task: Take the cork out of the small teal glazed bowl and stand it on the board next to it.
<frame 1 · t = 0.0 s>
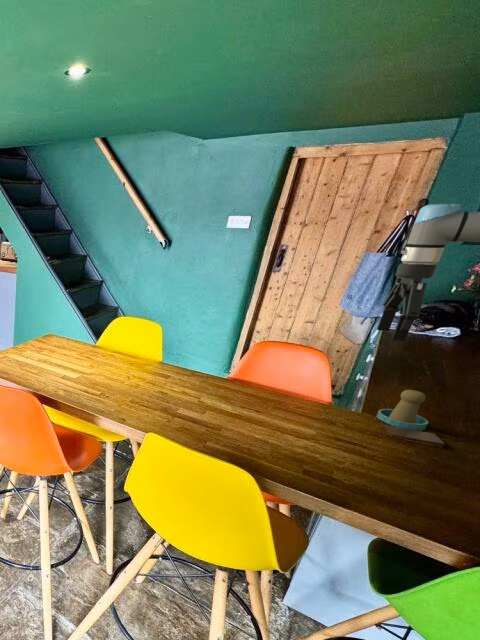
hand: (389, 335, 123), 28 cm above the countertop, tool pointing down, fingers open, 13 cm apart
board: (411, 438, 119), on the countertop
cork: (399, 423, 127), resting on bowl
bowl: (399, 424, 127), on the countertop
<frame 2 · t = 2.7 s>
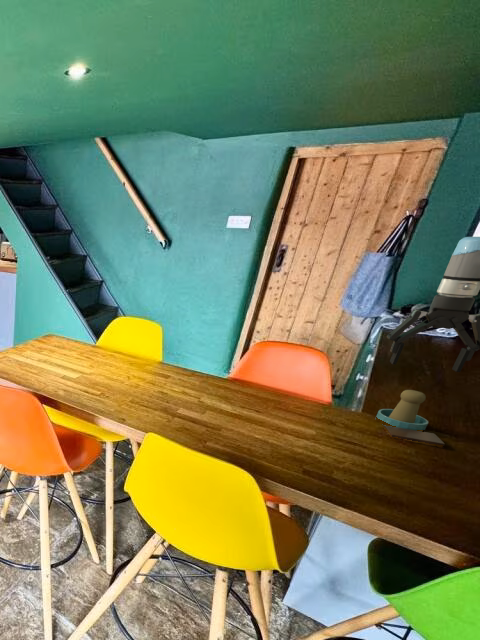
hand: (423, 366, 120), 19 cm above the countertop, tool pointing down, fingers open, 13 cm apart
nothing on the countertop moved.
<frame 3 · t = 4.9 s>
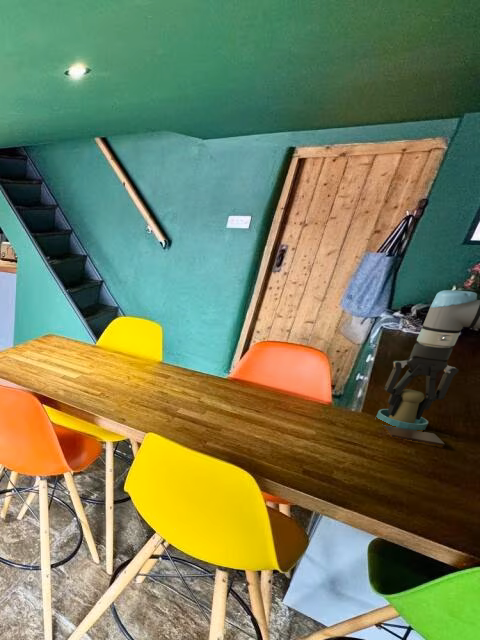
hand: (403, 415, 126), 3 cm above the countertop, tool pointing down, fingers closed on cork, 5 cm apart
cork: (399, 423, 127), point 1 cm above the countertop, touching bowl, gripper
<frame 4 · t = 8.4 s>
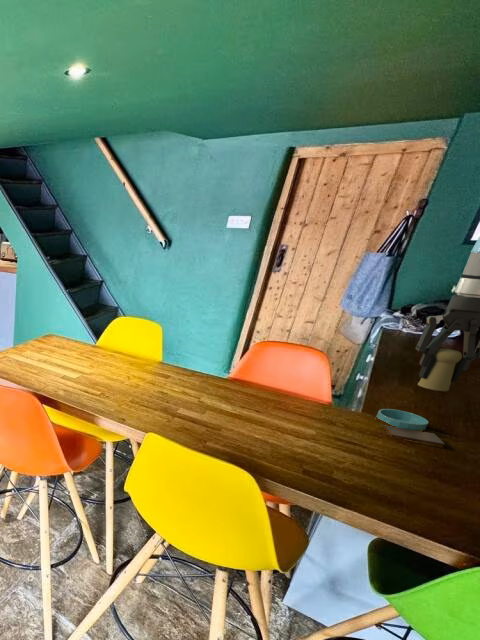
hand: (436, 378, 113), 19 cm above the countertop, tool pointing down, fingers closed on cork, 5 cm apart
cork: (432, 387, 114), point 16 cm above the countertop, touching gripper
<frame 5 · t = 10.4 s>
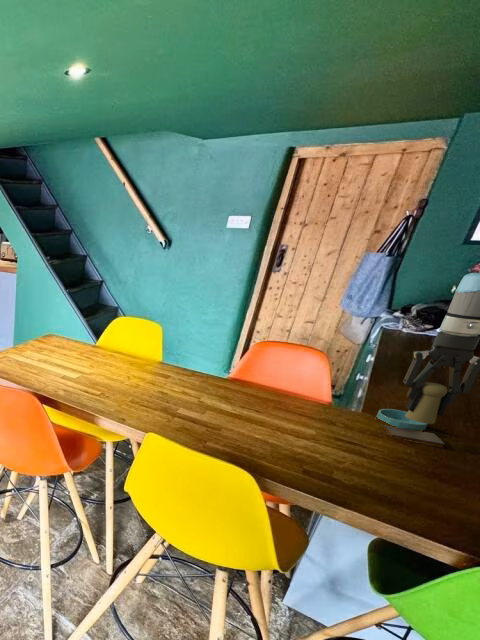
hand: (423, 411, 116), 9 cm above the countertop, tool pointing down, fingers closed on cork, 5 cm apart
cork: (419, 419, 117), point 6 cm above the countertop, touching gripper
when the fingers open (4 cm above the countertop, at t = 11.9 s): cork stays where it is, resting on board.
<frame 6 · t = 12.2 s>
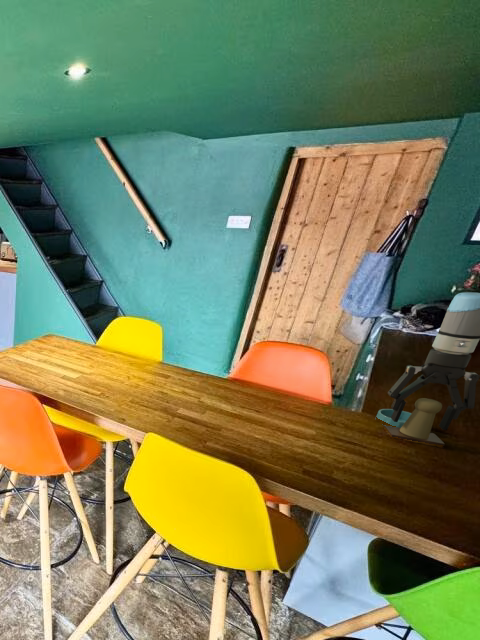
hand: (417, 424, 117), 5 cm above the countertop, tool pointing down, fingers open, 10 cm apart
cork: (413, 434, 119), point 1 cm above the countertop, touching board
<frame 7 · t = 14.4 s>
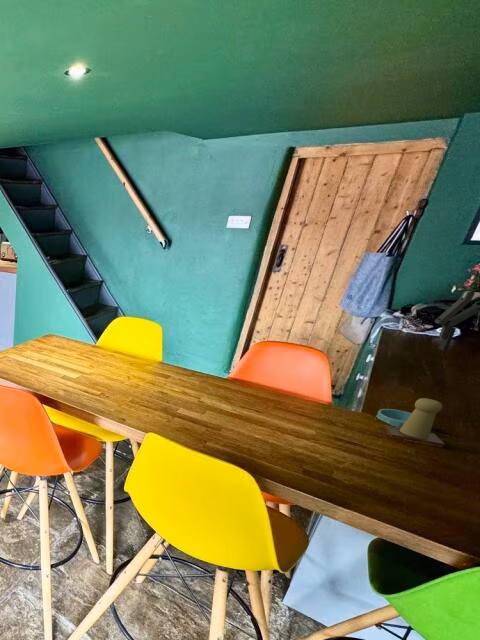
hand: (477, 352, 111), 26 cm above the countertop, tool pointing down, fingers open, 13 cm apart
nothing on the countertop moved.
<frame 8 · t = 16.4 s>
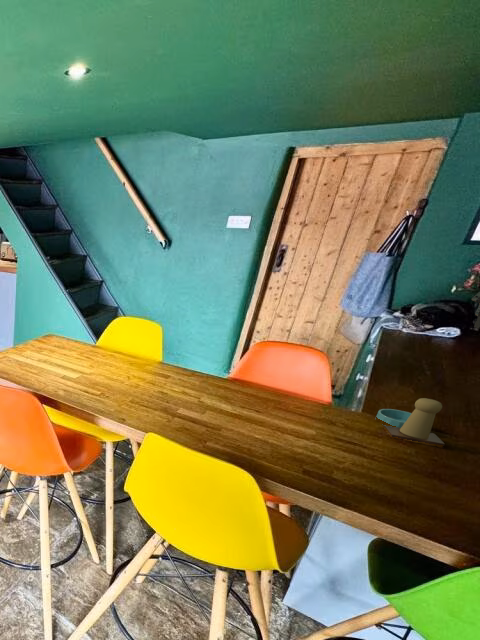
nothing on the countertop moved.
at the end: cork inside the target area on the board (0.1 cm from its centre), point 1.4 cm above the board's base; cork tilted 0°; the gripper is holding nothing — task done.
